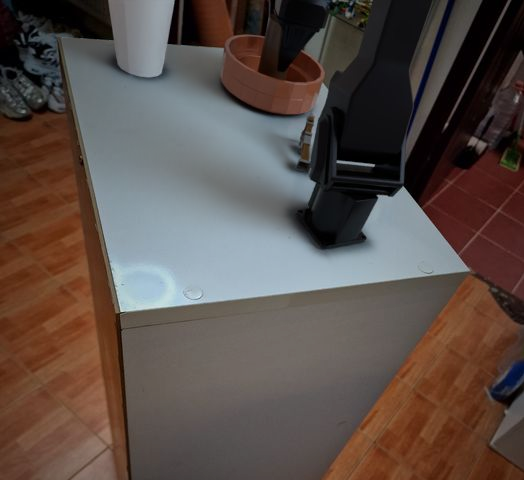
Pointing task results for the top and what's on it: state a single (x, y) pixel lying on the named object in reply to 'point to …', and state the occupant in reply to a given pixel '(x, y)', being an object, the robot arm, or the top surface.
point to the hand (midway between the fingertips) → (275, 57)
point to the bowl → (269, 78)
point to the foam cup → (141, 34)
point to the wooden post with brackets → (305, 144)
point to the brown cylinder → (271, 50)
